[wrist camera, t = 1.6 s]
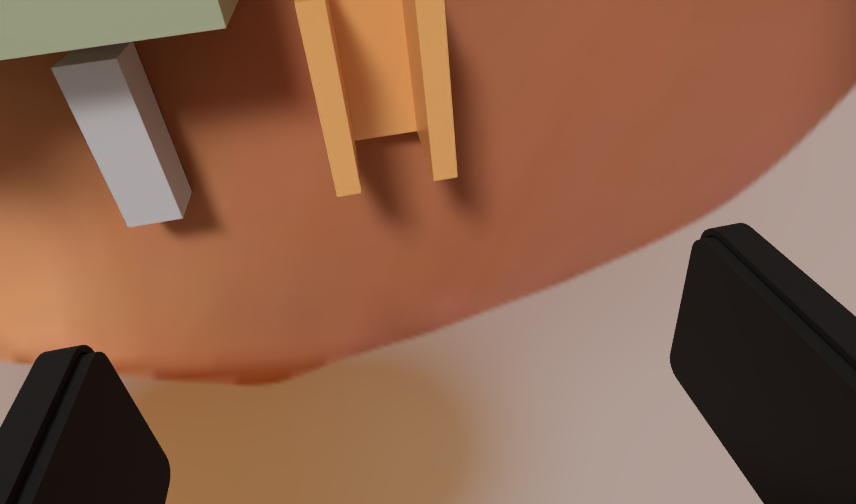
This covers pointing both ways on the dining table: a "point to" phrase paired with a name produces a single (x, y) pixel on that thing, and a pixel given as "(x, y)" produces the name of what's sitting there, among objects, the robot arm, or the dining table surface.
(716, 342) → the robot arm
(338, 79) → the chute
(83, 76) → the green plate with pegs
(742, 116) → the dining table surface
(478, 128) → the dining table surface
